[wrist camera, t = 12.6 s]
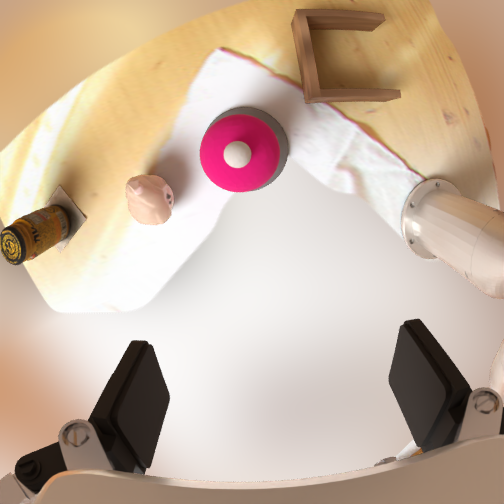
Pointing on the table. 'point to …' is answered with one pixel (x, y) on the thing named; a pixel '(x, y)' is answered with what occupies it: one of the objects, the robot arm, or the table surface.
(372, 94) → the cradle
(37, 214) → the condiment
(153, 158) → the table surface
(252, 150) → the pepper mill
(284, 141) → the coaster
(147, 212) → the beige plush toy
